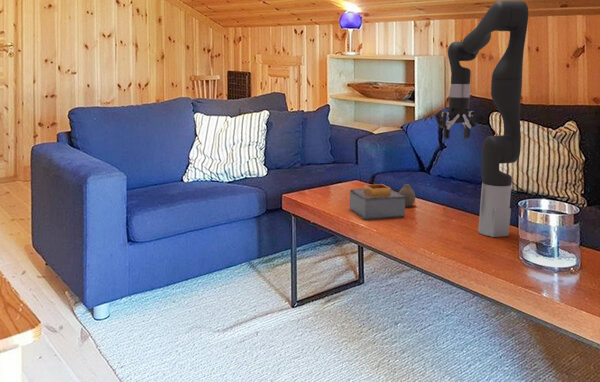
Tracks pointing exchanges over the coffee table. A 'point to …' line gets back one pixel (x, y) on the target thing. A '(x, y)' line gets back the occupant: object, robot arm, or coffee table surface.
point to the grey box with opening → (377, 202)
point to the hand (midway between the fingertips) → (456, 138)
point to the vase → (408, 195)
